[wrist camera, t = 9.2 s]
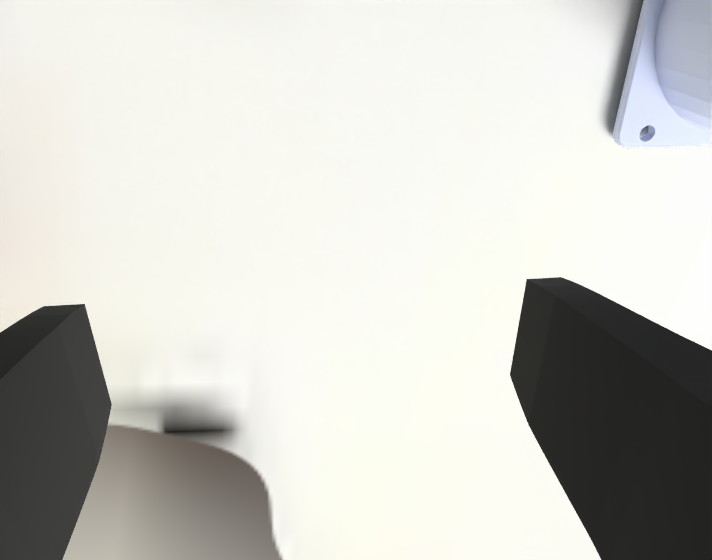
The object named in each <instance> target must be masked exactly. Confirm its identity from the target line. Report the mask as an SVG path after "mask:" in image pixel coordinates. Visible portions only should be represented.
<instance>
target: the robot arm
mask: <svg viewBox="0 0 712 560" xmlns="http://www.w3.org/2000/svg"><path fill="white" fill-rule="evenodd" d="M645 126H648V132H647V134H646V135H645V136H644V137H642V138H640V132H641V130H642V129H643V128H644V127H645ZM613 138H614V141H615V142H616V143H617V144H618V145H620V146H622V147H624V148H661V147H699V146H712V0H643V5H642V9H641V13H640V18H639V22H638V26H637V31H636V35H635V39H634V44H633V48H632V52H631V57H630V61H629V65H628V70H627V74H626V78H625V83H624V87H623V91H622V96H621V100H620V104H619V109H618V113H617V117H616V122H615V126H614V130H613ZM510 376H511V379H512V382H513V385H514V387H515V390H516V393H517V396H518V399H519V401H520V404H521V406H522V409H523V412H524V414H525V417H526V419H527V422H528V424H529V426H530V428H531V430H532V432H533V434H534V436H535V438H536V440H537V441H538V443H539V445H540V447H541V449H542V451H543V453H544V454H545V456H546V458H547V460H548V462H549V464H550V466H551V467H552V469H553V471H554V473H555V475H556V476H557V478H558V480H559V482H560V484H561V485H562V487H563V489H564V491H565V493H566V495H567V496H568V498H569V500H570V502H571V504H572V505H573V507H574V509H575V511H576V513H577V514H578V516H579V518H580V520H581V522H582V524H583V525H584V527H585V529H586V531H587V533H588V534H589V536H590V538H591V540H592V542H593V544H594V546H595V548H596V550H597V552H598V554H599V556H600V558H601V560H712V351H711V350H709V349H707V348H705V347H703V346H701V345H699V344H697V343H695V342H693V341H691V340H689V339H686V338H684V337H682V336H680V335H678V334H676V333H674V332H672V331H670V330H668V329H666V328H664V327H662V326H660V325H659V324H657V323H655V322H653V321H651V320H649V319H647V318H645V317H643V316H641V315H639V314H637V313H635V312H633V311H631V310H629V309H627V308H625V307H623V306H621V305H620V304H618V303H616V302H614V301H612V300H610V299H608V298H606V297H604V296H602V295H600V294H598V293H596V292H594V291H592V290H590V289H588V288H585V287H583V286H581V285H579V284H577V283H574V282H572V281H569V280H567V279H564V278H561V277H559V278H542V279H527V281H526V287H525V293H524V298H523V304H522V310H521V315H520V321H519V327H518V333H517V338H516V344H515V350H514V355H513V361H512V367H511V372H510ZM111 405H112V404H111V401H110V397H109V393H108V390H107V386H106V382H105V378H104V375H103V371H102V367H101V364H100V360H99V356H98V352H97V349H96V345H95V341H94V338H93V334H92V330H91V326H90V323H89V319H88V315H87V312H86V308H85V304H78V305H61V306H44V307H42V308H40V309H38V310H36V311H34V312H32V313H31V314H29V315H27V316H26V317H24V318H22V319H21V320H19V321H18V322H16V323H15V324H13V325H11V326H10V327H8V328H7V329H5V330H4V331H2V332H1V333H0V560H62V559H63V556H64V554H65V551H66V548H67V546H68V543H69V541H70V538H71V535H72V533H73V530H74V528H75V525H76V522H77V519H78V517H79V514H80V511H81V509H82V506H83V504H84V501H85V498H86V496H87V493H88V490H89V487H90V485H91V482H92V479H93V477H94V474H95V471H96V468H97V465H98V463H99V459H100V455H101V451H102V447H103V442H104V438H105V434H106V429H107V424H108V419H109V415H110V410H111Z"/></svg>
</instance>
